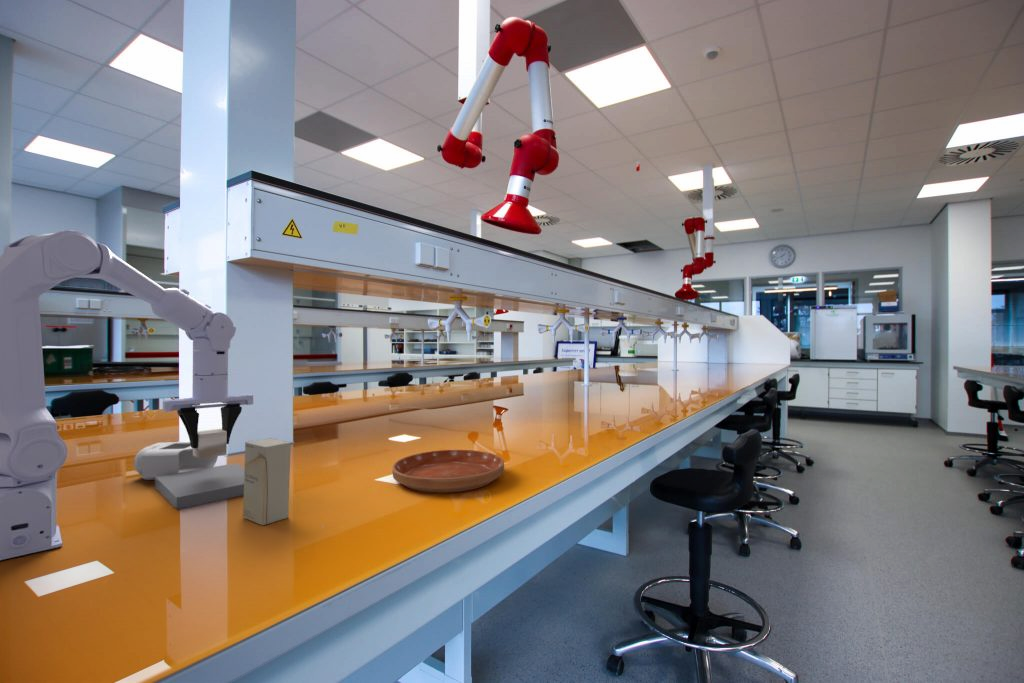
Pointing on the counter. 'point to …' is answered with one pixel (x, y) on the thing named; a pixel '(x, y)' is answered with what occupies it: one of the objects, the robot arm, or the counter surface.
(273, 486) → the skincare box
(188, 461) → the cable organizer
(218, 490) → the base plate
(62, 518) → the counter surface
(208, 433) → the ash cube
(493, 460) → the saucer
